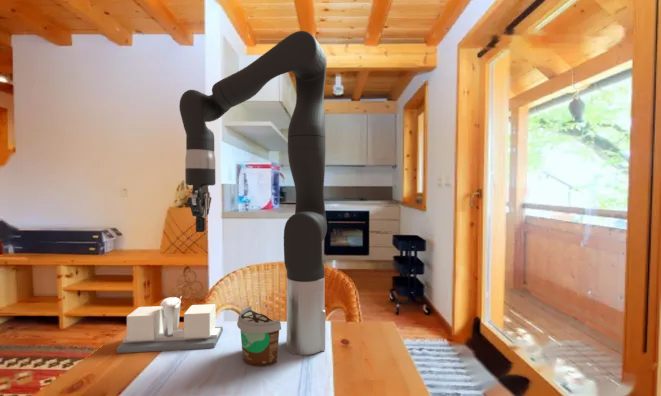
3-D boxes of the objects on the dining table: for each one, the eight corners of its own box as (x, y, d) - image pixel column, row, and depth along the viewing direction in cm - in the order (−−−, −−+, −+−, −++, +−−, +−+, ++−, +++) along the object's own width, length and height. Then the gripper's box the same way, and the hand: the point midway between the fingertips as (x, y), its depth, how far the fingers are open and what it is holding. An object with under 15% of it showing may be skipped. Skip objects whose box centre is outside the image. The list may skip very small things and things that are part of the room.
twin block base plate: (222, 331, 84) (222, 301, 84) (214, 347, 75) (214, 315, 75) (136, 335, 81) (135, 305, 81) (116, 353, 72) (116, 319, 72)
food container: (226, 355, 72) (226, 312, 72) (249, 345, 76) (249, 305, 76) (257, 377, 63) (257, 329, 63) (281, 365, 68) (281, 320, 68)
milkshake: (175, 340, 75) (174, 299, 75) (156, 337, 76) (155, 297, 76) (187, 331, 79) (187, 292, 79) (169, 329, 80) (169, 291, 80)
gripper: (208, 166, 78) (208, 235, 78) (220, 169, 91) (220, 228, 91) (177, 165, 77) (177, 235, 77) (193, 169, 90) (194, 228, 90)
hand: (200, 231), depth 84 cm, fingers closed
